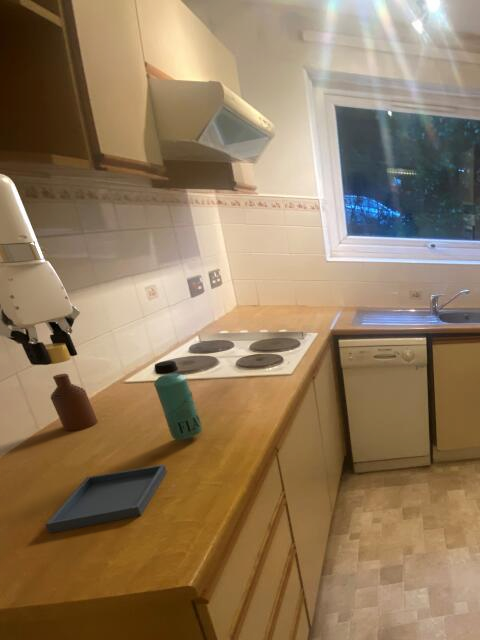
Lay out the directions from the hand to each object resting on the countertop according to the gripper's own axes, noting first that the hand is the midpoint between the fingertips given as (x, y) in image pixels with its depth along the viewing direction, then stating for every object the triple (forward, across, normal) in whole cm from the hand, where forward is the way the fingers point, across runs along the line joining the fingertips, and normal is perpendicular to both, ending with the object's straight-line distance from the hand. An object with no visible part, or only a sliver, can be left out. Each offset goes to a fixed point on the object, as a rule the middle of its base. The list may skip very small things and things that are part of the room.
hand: (54, 358), depth 78 cm
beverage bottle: (+28, -20, +2) cm, 34 cm away
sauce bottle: (+28, -26, -31) cm, 49 cm away
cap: (-2, 0, 0) cm, 2 cm away
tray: (+28, +4, +5) cm, 28 cm away
